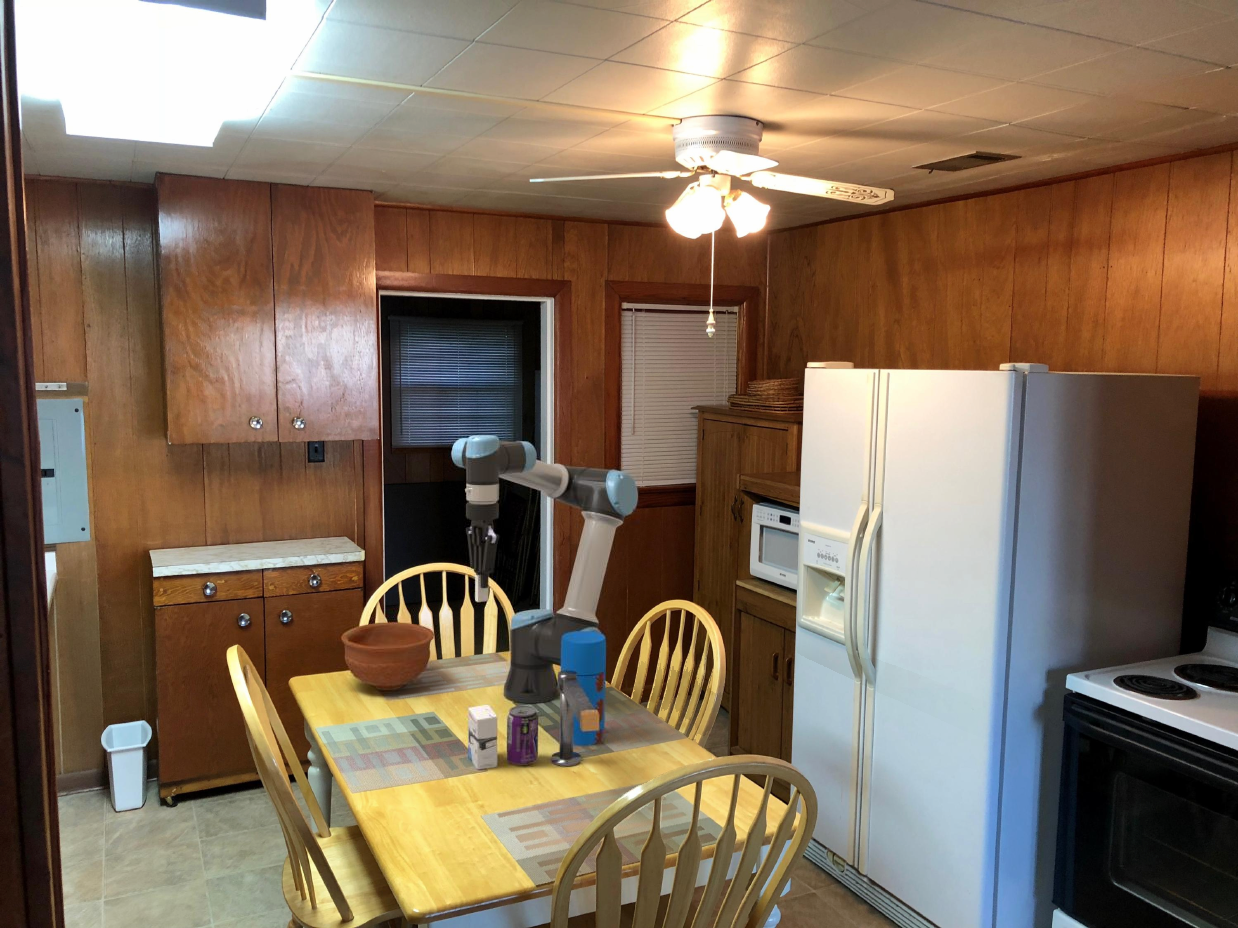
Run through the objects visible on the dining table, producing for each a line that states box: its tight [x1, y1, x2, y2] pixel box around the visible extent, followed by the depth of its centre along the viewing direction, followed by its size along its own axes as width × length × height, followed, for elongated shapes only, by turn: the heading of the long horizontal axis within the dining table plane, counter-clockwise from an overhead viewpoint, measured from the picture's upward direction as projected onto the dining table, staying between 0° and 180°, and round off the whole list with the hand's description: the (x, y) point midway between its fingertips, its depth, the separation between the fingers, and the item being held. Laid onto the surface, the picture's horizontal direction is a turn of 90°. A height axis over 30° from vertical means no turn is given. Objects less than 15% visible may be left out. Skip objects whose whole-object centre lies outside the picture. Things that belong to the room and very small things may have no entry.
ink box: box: [467, 704, 498, 770], centre depth 218 cm, size 8×5×12 cm, turn 23°
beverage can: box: [506, 705, 539, 766], centre depth 219 cm, size 7×7×12 cm
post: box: [550, 690, 582, 768], centre depth 219 cm, size 7×7×16 cm
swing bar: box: [557, 670, 599, 731], centre depth 207 cm, size 28×4×4 cm, turn 14°
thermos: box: [560, 631, 607, 747], centre depth 233 cm, size 11×11×25 cm
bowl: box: [341, 621, 435, 691], centre depth 267 cm, size 25×25×15 cm
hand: (481, 600), depth 227 cm, fingers closed
